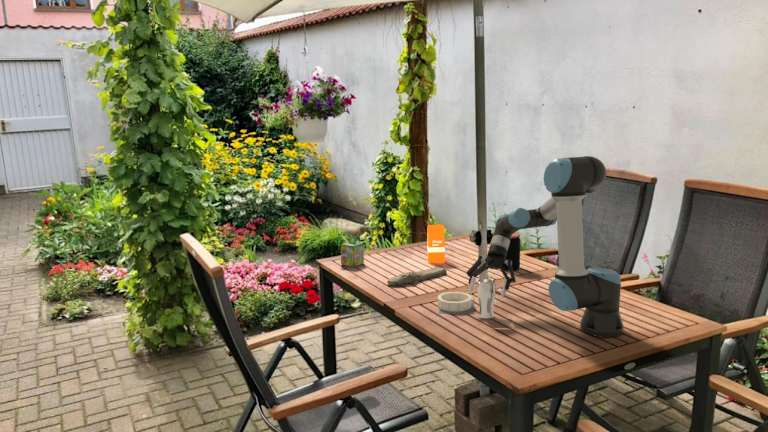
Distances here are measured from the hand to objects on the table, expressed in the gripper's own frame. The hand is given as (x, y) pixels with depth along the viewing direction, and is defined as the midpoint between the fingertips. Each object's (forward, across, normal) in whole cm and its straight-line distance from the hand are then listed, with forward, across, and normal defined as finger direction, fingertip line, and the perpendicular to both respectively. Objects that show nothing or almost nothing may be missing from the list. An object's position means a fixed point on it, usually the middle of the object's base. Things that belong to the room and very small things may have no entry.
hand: (485, 294), depth 237 cm
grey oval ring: (+4, +14, -9) cm, 17 cm away
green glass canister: (-23, +90, -37) cm, 100 cm away
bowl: (+4, +15, -8) cm, 17 cm away
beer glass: (+8, -1, -5) cm, 9 cm away
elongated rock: (-16, +47, -30) cm, 58 cm away
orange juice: (-40, +52, -54) cm, 85 cm away
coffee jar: (-41, +12, -55) cm, 70 cm away
